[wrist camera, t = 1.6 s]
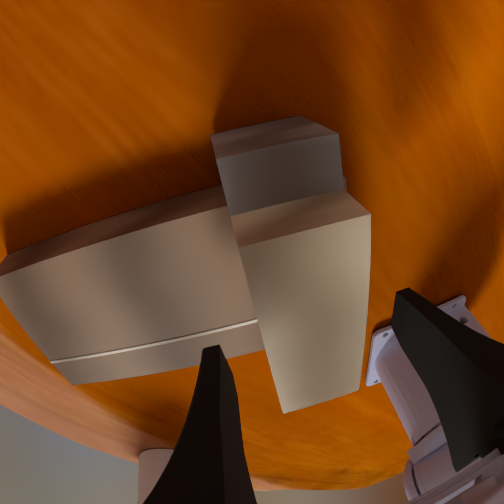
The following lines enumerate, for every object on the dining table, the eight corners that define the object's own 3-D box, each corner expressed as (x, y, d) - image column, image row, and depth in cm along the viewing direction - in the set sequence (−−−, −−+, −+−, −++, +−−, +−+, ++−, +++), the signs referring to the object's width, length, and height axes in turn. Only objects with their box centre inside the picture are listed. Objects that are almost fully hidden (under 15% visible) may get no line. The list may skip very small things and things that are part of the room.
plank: (325, 160, 14) (346, 178, 12) (334, 298, 19) (349, 325, 17) (7, 255, 14) (-11, 280, 12) (78, 357, 19) (72, 385, 17)
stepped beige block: (300, 115, 13) (369, 149, 8) (322, 313, 19) (358, 390, 14) (209, 135, 13) (220, 180, 8) (260, 330, 19) (283, 413, 14)
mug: (157, 442, 27) (164, 546, 17) (205, 455, 31) (219, 547, 21) (114, 461, 30) (115, 545, 20) (158, 473, 33) (164, 550, 23)
